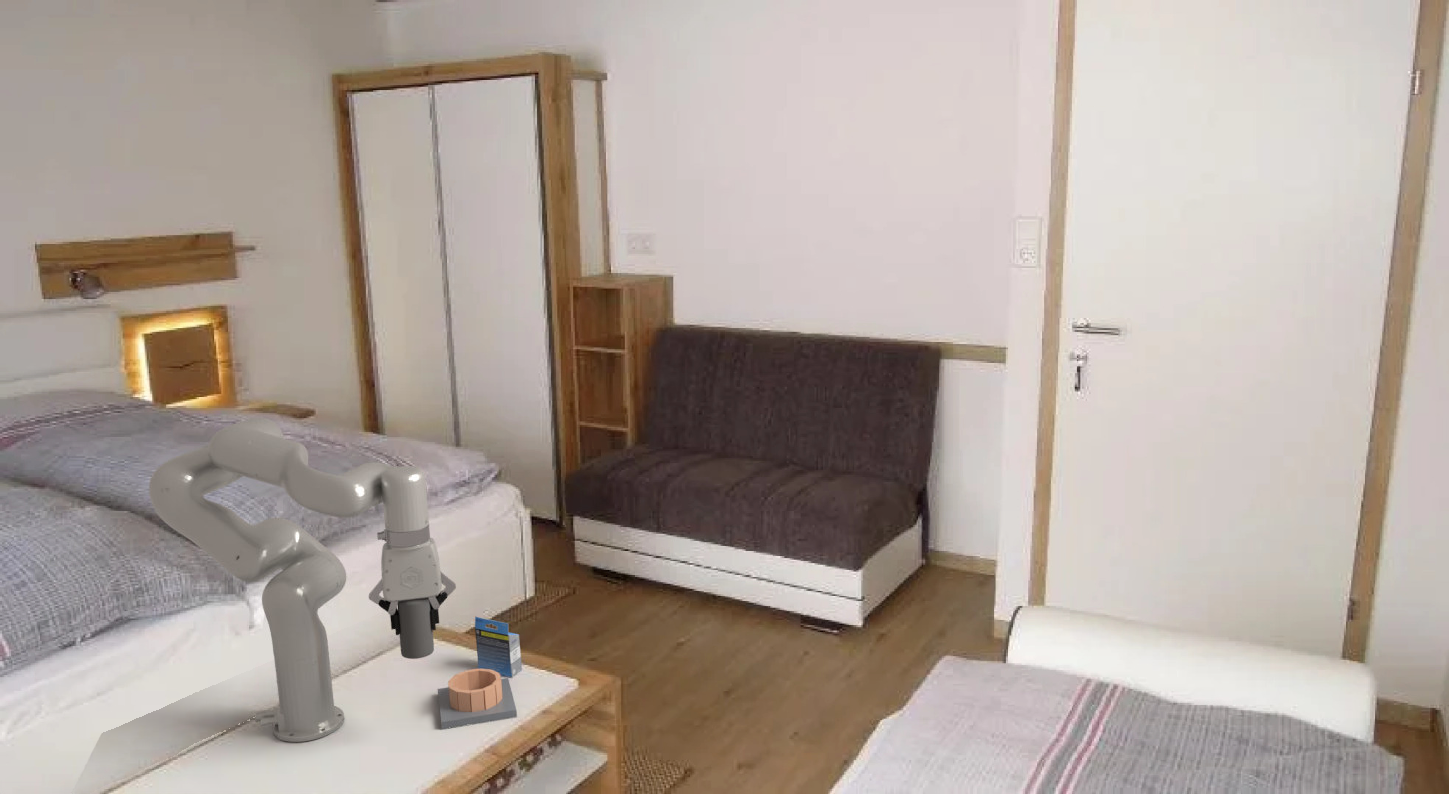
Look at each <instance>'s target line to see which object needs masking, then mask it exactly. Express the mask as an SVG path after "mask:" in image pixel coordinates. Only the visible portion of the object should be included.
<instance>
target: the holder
mask: <svg viewBox="0 0 1449 794" xmlns="http://www.w3.org/2000/svg"><path fill="white" fill-rule="evenodd" d="M501 676H502V675H500V673H498V672H496V671H494V670H491V669H481V668H480V669H479V668H472V669H468V670H463V671H461V672H459V673H456V674H454V675H453V676H452V677H451V678H450V679H449V680H448V681H447V684H448V686H447V687H442V688H437V697H438V699H439V700H438V707H439V713H440V714H439V715H440V724H441V730H447V729H446V728H448V729H450V728H449V727H454V728H456V727H455V726H460V727H464V726H463V725H466V726H468V725H467V724H472V725H478V724H483V723H490V722H496V721H500V720H501V721H502V720H506V719H513V718H517V717H518V716H517V715H518V713H517V707H516V704H515V700H514V695H513V691H512V687H511V684H510V680H509V677H506V678H505V677H504V678H502V677H501ZM489 721H490V722H489ZM477 723H478V724H477Z"/></svg>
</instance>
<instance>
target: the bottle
mask: <svg viewBox="0 0 1449 794" xmlns="http://www.w3.org/2000/svg"><path fill="white" fill-rule="evenodd" d="M397 610H398V616H399V628H400V634H399V644H400V655H401V657H403V658H405V659H409V660H417V659H422V658H426V657H428V656H430V655H432V654H433V652H434V650H435V645H434V644H435V643H434V630H432V625H431V613H430V610H431V602H430V601H429V599H428V598H421V599H413V600H405V601H398V604H397Z"/></svg>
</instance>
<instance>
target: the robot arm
mask: <svg viewBox="0 0 1449 794" xmlns="http://www.w3.org/2000/svg"><path fill="white" fill-rule="evenodd" d="M308 464H309V451H308V449H307V448H306V446H305V445H304V444H303V443H300V442H298V441H294V440H290V439H287V438H285V436H284V433H283V431H282V429H281V427H280V426H279V425H278V424H277V423H276V422H274V421H273V420H271V419H269V418H266V417H256V416H254V417H251V418H247V419H245V420H242V421H239V422H236V423H234V424H231V425H228V426H226V427H223V428H221V429H220V430H218V431H217V432H216V433H214V435H213V436H212V438H211V439H210V441H209V444H207V445H205V446H201V447H199V448H197V449H194V450H191V451H189V452H186V453H183V454H180V455H178V456H175V457H173V458H171V459H168V460H167V461H166V462H164V463H162V464H161V465H159V467H157V468H156V469H155V470H154V472H153V473H152V475H151V477H150V480H149V482H148V483H149V484H148V493H149V499H150V502H151V505H152V508H153V509H154V512H155V513H156V514H157V516H158V517H159V518H160V519H161V520H162V521H163V522H164V524H166V525H168V526H169V527H170V528H172V529H173V530H175V531H176V532H177V533H179V534H180V535H182V536H184V537H185V538H186V539H188V540H190V541H191V542H192V543H193V544H194V545H196V546H198V547H199V548H200V549H201V550H202V551H203V552H204V553H206V555H208V556H209V557H210V558H211V559H213V560H214V562H215V561H216V563H218V564H219V565H221V566H222V567H223V568H224V569H225V570H226V571H227V572H229V573H230V574H231V575H232V576H234V577H235V578H237V579H238V580H240V581H242V582H245V583H254V582H258V581H260V580H262V579H264V578H266V577H268V576H269V575H271V574H273V573H275V572H277V571H278V570H280V569H281V571H280V572H278V573H277V574H276V575H274V576H272V578H271V579H270V580H269V581H268V582H267V584H265V586H264V589H263V591H262V596H261V604H262V609H263V612H264V614H265V618H266V620H267V624H268V626H269V632H270V637H271V642H272V643H271V644H272V653H273V656H274V657H273V658H274V666H275V667H274V668H275V675H276V685H277V694H278V706H275V707H273V709H269V710H259V711H258V710H257V711H255V713H254V718H255V722H256V723H260V725H261V727H265V726H269V725H273V726H272V729H273V734H274V736H275V737H276V738H277V739H279V740H280V741H284V742H290V743H300V742H301V743H302V742H308V741H309V742H310V741H314V740H318V739H320V738H323V737H326V736H328V735H330V734H332V733H334V732H335V731H337V730H338V729H339V728H340V727H341V726H342V725H343V724H344V720H345V715H344V714H345V713H344V711H343V710H342V709H341V708H340V707H338V706H337V705H335V701H334V700H335V699H334V692H333V683H332V671H331V670H332V669H331V663H330V662H331V661H330V652H329V642H328V637H327V636H328V635H327V631H326V627H325V625H324V623H323V622H322V621H321V619H320V616H319V614H318V611H319V609H320V608H321V607H323V606H324V605H325V604H326V603H328V602H329V601H331V600H332V599H334V598H335V597H337V595H338V594H340V593H341V592H342V591H343V589H344V587H345V586H346V582H347V572H346V569H345V566H344V564H343V563H342V561H341V560H340V559H339V558H338V557H337V556H336V555H335V554H334V553H333V552H332V551H331V550H329V549H328V547H326V546H324V545H323V544H322V543H321V542H320V541H318V539H316V538H315V537H314V536H312V535H311V534H310V533H308V532H307V531H306V530H305V529H304V528H303V527H301V526H300V525H299V524H298V523H296V522H294V521H292V520H289V519H287V518H283V517H270V518H267V519H264V520H262V521H260V522H258V523H256V524H251V523H249V522H247V521H245V520H244V519H243V518H242V517H240V516H239V515H238V514H237V513H235V512H234V511H233V510H232V509H230V508H229V507H227V506H225V505H222V504H221V503H218V502H215V501H212V500H210V499H206V498H205V497H204V496H205V495H207V494H210V493H213V492H215V491H217V490H219V489H222V488H224V487H226V486H229V485H230V484H232V483H234V482H236V481H238V480H240V479H241V478H243V477H244V478H245V477H246V478H248V479H252V480H255V481H258V482H262V483H266V484H269V485H273V486H275V487H279V488H282V489H284V490H285V492H286V493H287V495H288V496H289V497H290V498H291V499H292V500H294V502H296V504H298V505H299V506H301V507H302V508H304V509H305V508H306V509H307V510H311V511H314V512H316V513H319V514H324V515H326V516H330V517H333V518H343V519H347V518H348V519H350V518H354V517H357V516H358V515H360V514H362V513H364V512H366V511H367V510H369V509H370V508H372V507H375V506H378V505H380V504H382V505H383V506H382V507H383V518H384V528H385V529H383V530H382V531H380V532H377V540H378V541H379V540H381V541H384V543H383V545H382V549H381V559H380V562H381V563H380V565H381V566H380V567H381V569H380V570H381V579H380V580H379V581H378V583H377V584H376V585H375V586H374V587H373V588H372V589H371V591H370V592H369V594H368V600H369V601H371V602H373V603H374V604H376V605H378V606H379V607H380V609H383V610H384V611H385V612H386V613H387V614H388V615H389V618H390V627H391V630H395V636H400V628H399V616H398V605H397V604H398V601H405V600H413V599H421V598H428V599H429V601H430V602H431V610H430V613H431V625H432V630H433V631H437V627H436V624H440V615H439V609H440V608H441V607H440V606H441V605H442V604H443V603H444V602H445V601H446V600H447V599H448V597H449V596H450V595H451V594H452V593H453V592H454V591H455V590H456V588H457V586H456V583H455V582H454V581H453V580H452V579H450V578H449V577H448V576H447V575H445V574H444V573H443V572H442V571H441V565H440V558H439V552H438V549H437V545H436V542H435V539H434V538H433V537H431V532H430V519H429V506H428V504H429V503H428V494H427V493H428V492H427V482H426V480H427V479H426V475H425V471H424V470H423V469H422V468H420V467H419V466H412V465H403V466H402V465H401V466H395V465H390V464H386V463H381V462H378V461H377V462H376V461H375V462H374V461H373V462H372V461H370V462H366V463H363V464H361V465H359V466H357V467H354V468H352V469H350V470H348V471H346V472H345V473H342V474H340V475H335V474H332V473H328V472H326V471H321V470H317V469H315V468H313V467H311V466H309V465H308ZM443 585H444V588H443V590H442V586H443ZM381 593H382V595H383V596H381Z"/></svg>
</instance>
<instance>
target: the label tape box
mask: <svg viewBox="0 0 1449 794" xmlns="http://www.w3.org/2000/svg"><path fill="white" fill-rule="evenodd" d="M486 625H488V626H490V625H492V626H493V627H496V628H492V627H487V626H486ZM474 633H475V643H476V644H475V645H476V655H477V656H476V657H477V664H478V665H477V666H478V668H477V669H480V668H481V669H491V670H494V671H496V672H498V673H500V676H503V677H508V676H509V677H508V678H514V677H515V676H516V675H518V674H519V673H521V672H522V670H523V666H522V665H523V664H522V655H521V653H522V652H521V645H520V634H518V633H513V632H509V623H508V622H502V621H498V620H493V619H489V618H483V617H479V616H476V615H475V619H474ZM517 673H518V674H517ZM513 676H514V677H513Z"/></svg>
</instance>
